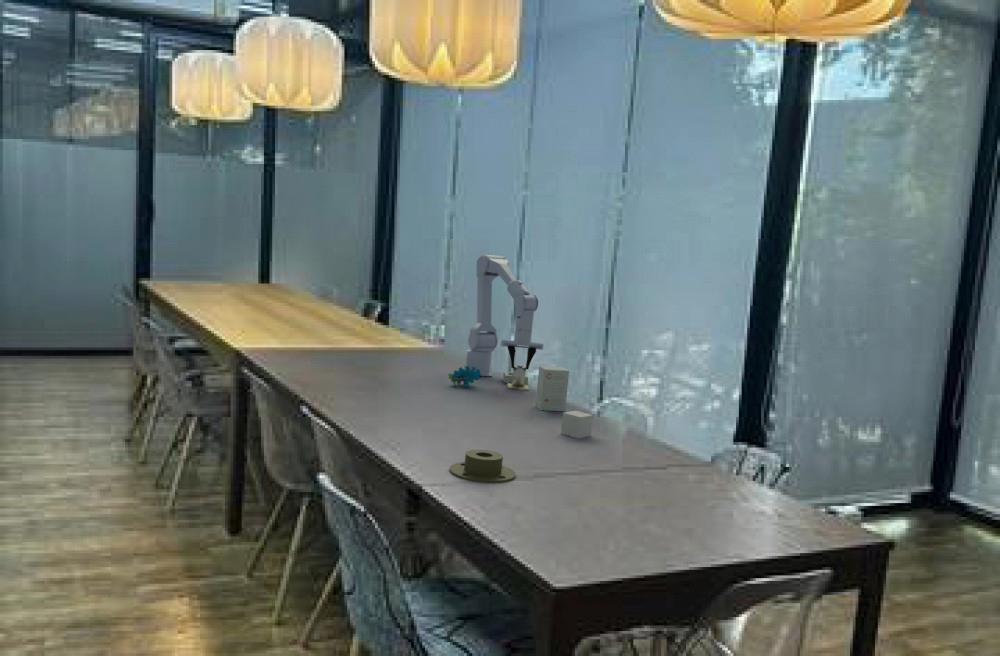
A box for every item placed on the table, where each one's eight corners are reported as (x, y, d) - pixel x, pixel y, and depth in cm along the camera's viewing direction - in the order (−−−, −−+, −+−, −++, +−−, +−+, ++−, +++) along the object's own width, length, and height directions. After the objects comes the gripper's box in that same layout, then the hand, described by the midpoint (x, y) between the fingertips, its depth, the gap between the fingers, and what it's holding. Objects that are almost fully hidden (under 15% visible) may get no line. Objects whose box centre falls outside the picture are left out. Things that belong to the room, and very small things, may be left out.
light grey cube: (578, 438, 249) (580, 417, 248) (560, 433, 253) (563, 412, 252) (590, 436, 254) (593, 415, 253) (573, 431, 257) (575, 410, 257)
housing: (504, 383, 320) (505, 375, 320) (502, 379, 328) (503, 371, 328) (527, 385, 321) (528, 377, 320) (524, 381, 329) (525, 373, 328)
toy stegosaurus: (479, 380, 313) (481, 363, 306) (481, 394, 310) (484, 378, 302) (447, 382, 311) (449, 365, 304) (449, 396, 308) (451, 380, 300)
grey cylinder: (512, 386, 313) (514, 366, 312) (511, 383, 317) (513, 363, 316) (524, 387, 313) (526, 367, 312) (523, 384, 318) (525, 364, 317)
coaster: (508, 388, 311) (508, 387, 311) (506, 384, 318) (506, 383, 318) (528, 390, 312) (528, 388, 312) (526, 386, 319) (526, 384, 319)
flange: (481, 442, 216) (437, 451, 204) (530, 458, 207) (487, 467, 195) (479, 461, 217) (435, 471, 205) (528, 478, 207) (485, 489, 196)
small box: (558, 407, 289) (563, 366, 287) (565, 411, 283) (569, 370, 281) (534, 406, 287) (538, 365, 285) (540, 410, 280) (544, 369, 279)
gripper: (503, 329, 308) (499, 368, 310) (546, 332, 309) (541, 372, 311) (502, 326, 315) (498, 365, 317) (543, 330, 316) (539, 368, 318)
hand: (519, 368), depth 314 cm, fingers closed on grey cylinder, 4 cm apart
